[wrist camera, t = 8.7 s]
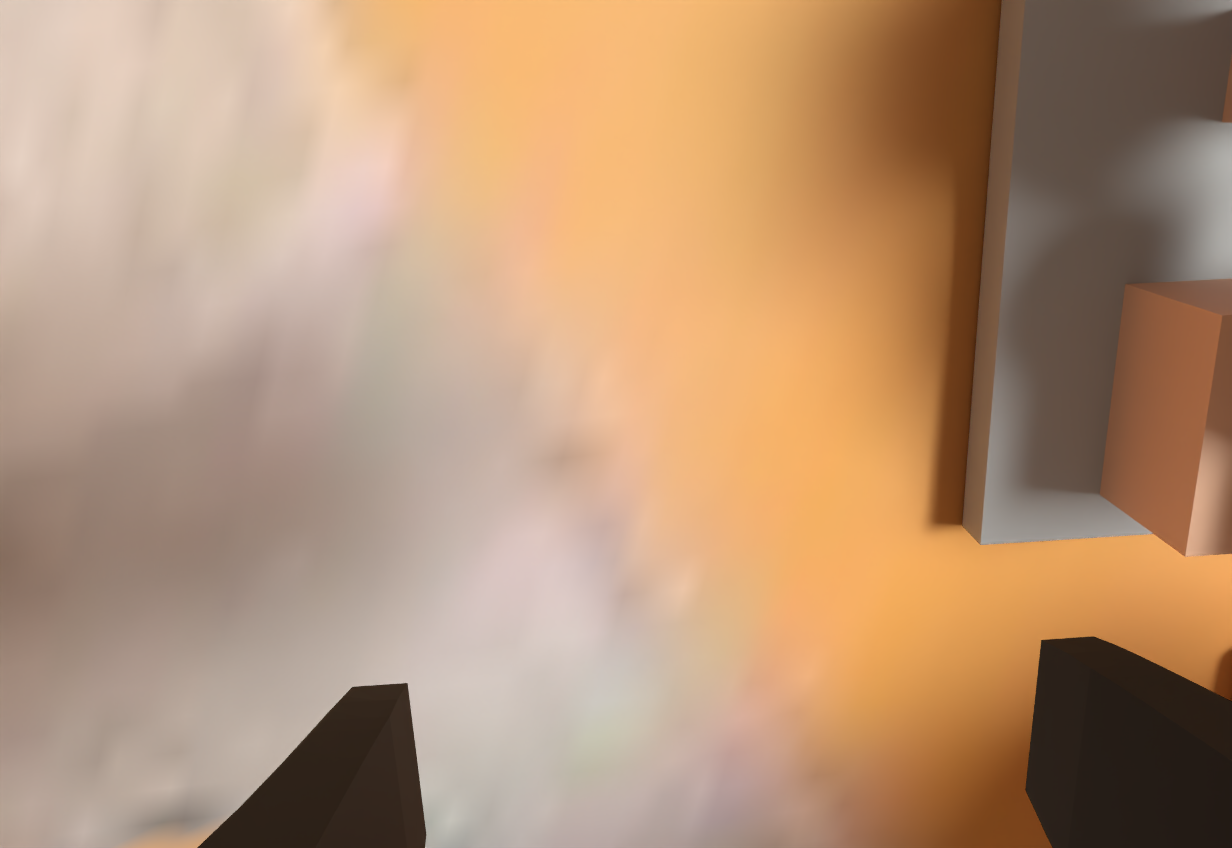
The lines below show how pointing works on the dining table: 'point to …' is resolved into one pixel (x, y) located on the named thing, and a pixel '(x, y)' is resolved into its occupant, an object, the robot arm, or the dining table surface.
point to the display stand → (1107, 278)
